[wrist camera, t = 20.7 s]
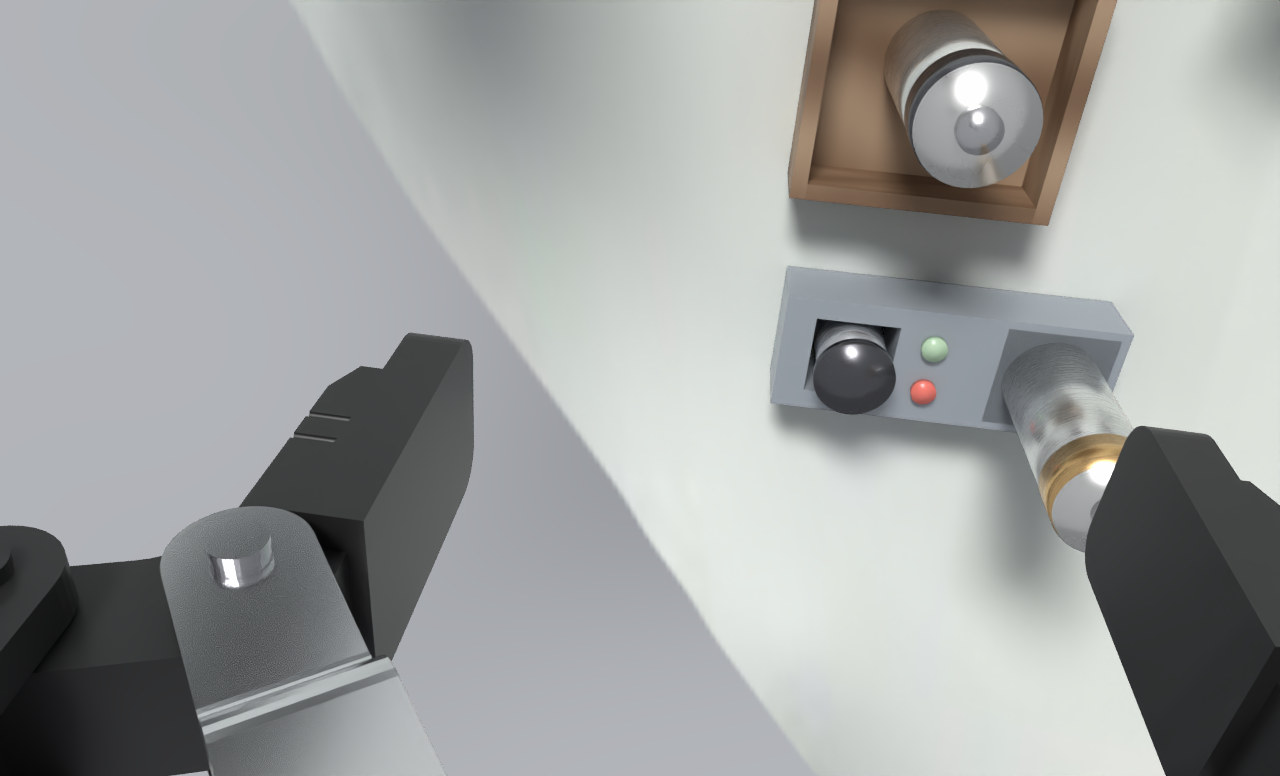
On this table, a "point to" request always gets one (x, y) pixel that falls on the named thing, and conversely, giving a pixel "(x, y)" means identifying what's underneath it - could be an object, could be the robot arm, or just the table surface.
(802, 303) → the tester
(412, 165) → the table surface
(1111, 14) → the bin
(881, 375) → the plunger
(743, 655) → the table surface
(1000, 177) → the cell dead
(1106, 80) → the table surface
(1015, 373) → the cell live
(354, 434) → the robot arm
